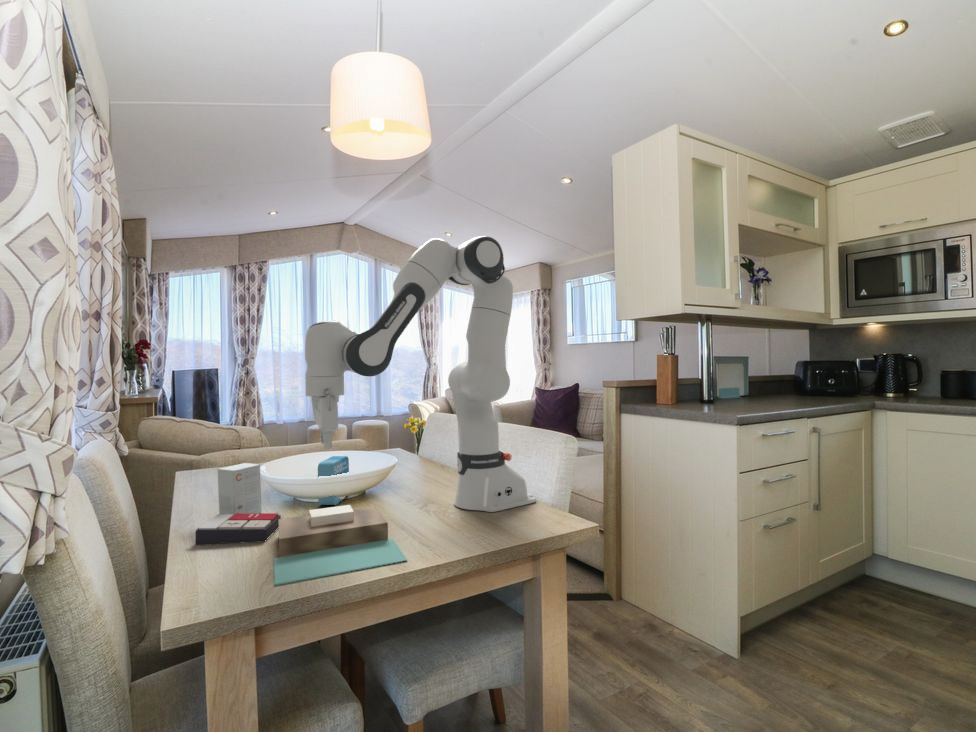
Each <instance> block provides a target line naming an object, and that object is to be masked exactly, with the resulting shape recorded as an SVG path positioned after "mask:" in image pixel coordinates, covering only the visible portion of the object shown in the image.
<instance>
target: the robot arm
mask: <svg viewBox="0 0 976 732" xmlns="http://www.w3.org/2000/svg"><path fill="white" fill-rule="evenodd" d="M504 263H505V262H504V252H503V250H502V246H501V245H500V243H499V242H498V241H497V240H496V239H495V238H493V237H491V236H486V235H481V236H475V237H473V238H471V239H469V240H466V241H464V242H463V243H461V244H460V245H458V246H457V247H455V246H452V245H451V244H450V243H449V242H448V241H446V240H445V239H442V238H439V237H438V238H437V237H435V238H431V239H429V240H427V241H426V242H425V243H423V245H421V246H420V247H419V248H418V249H417V250H416V251H415V252H413V254H412V255H411V256H410V257H409V258H408V260H407V261H405V263H404V265H402V267H401V268H400V270H399V272H398V273H397V275H396V277H395V279H394V281H393V283H392V288H393V297H392V300H391V302H390V303H389V304H388V306H387V307H386V308H385V310H384V311H383V313H382V314H381V315H380V316H379V318H378V319H377V320H376V322H375V323H374V324H373V326H371V328H369V329H367V330H365V331H362V332H357V331H355V330H352V329H351V328H349V327H347V326H345V325H344V324H342V323H341V322H340V321H339V320H326V321H325V320H324V321H319V322H316V323H313V324H312V325H310V326H309V327H308V328H307V331H306V335H305V341H304V343H305V344H304V359H305V363H306V371H305V396H306V397H311V400H310V401H311V404H312V412H313V419H314V423H315V424H316V425H317V426H318V429H319V436H320V437H319V440H320V442H319V443H320V444H321V445H323V449H325V450H329V449H330V450H331V449H332V448H333V437H334V432H336V431H337V432H338V430H339V411H338V409H339V407H338V403H340V396H344V395H345V372H348V371H349V372H351V373H354V374H358V375H360V376H361V377H375V376H379V375H380V374H382V373H383V372H384V371H386V370H387V368H388V367H389V365H390V364H391V361H392V357H393V352H394V348H395V346H396V343H397V342H398V340H399V339H400V337H401V335H403V332H404V331H405V330H406V328H407V327H408V325H409V324H410V322H411V321H412V320H413V318H414V317H415V315H416V314H418V313H419V311H421V310H422V309H423V308H424V307H425V306H426V305H427V304H428V303H430V301H431V300H432V299H433V298H434V297H435V296H437V294H438V292H439V291H440V290H441V289H442V287H443V286H444V284H445V283H446V281H447V280H449V281H451V282H453V283H455V284H456V285H459V286H469V285H471V286H472V289H473V301H472V305H471V308H470V309H471V311H470V316H469V319H468V325H467V329H466V335H465V337H466V339H465V340H466V341H467V350H468V354H467V355H468V356H467V361H464V362H461V363H459V364H458V365H456V366H454V367H453V368H452V370H451V371H450V372H449V374H448V381H447V384H448V387H449V389H450V391H451V394H452V400H453V405H454V410H455V414H456V420H457V421H456V422H457V431H458V432H457V433H458V434H457V435H458V436H457V437H458V452H457V455H456V456H457V457H456V458H457V459H456V467H457V473H458V477H457V486H456V487H457V488H456V493H455V498H454V502H453V505H454V506H455V507H457V508H460V509H463V510H469V511H483V512H489V513H495V512H500V511H505V510H509V509H512V508H516V507H517V508H518V507H521V506H525V505H530V504H533V503H535V502H536V497H535V495H534V494H533V493H531V492H529V491H528V488H527V483H526V481H525V478H524V477H523V476H522V475H521V474H520V473H518V472H517V471H515V470H514V469H513V468H511V467H510V466H508V464H506V461H507V462H510V461H511V460H512V459H513V456H512V454H511V453H508V452H503V451H501V450H500V445H499V443H500V441H499V423H498V419H497V418H496V415H495V413H494V410H493V406H492V403H494V402H496V401H499V400H501V399H502V398H504V397H505V396H506V395H507V394H508V391H509V390H510V385H511V379H510V375H509V372H508V371H507V367H506V366H507V365H506V364H507V363H506V344H507V337H508V331H509V326H510V320H511V315H512V308H513V296H514V289H513V288H514V286H513V283H512V280H510V278H508V277H507V276H505V275H504V273H505V270H506V267H505V264H504Z"/></svg>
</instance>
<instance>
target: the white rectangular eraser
mask: <svg viewBox="0 0 976 732" xmlns="http://www.w3.org/2000/svg"><path fill="white" fill-rule="evenodd" d="M353 509H354V508H352V506H351V504H344V505H338V506H337V505H336V506H330V507H324V508H316V509H309V511H308V512H309V514H308V515H309V516H310V523H311V527H313V526H320V525H327V524H333V523H340V522H347V521H354V511H353Z"/></svg>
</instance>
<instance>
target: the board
mask: <svg viewBox="0 0 976 732" xmlns="http://www.w3.org/2000/svg"><path fill="white" fill-rule="evenodd" d="M352 509H353V511H354V521H347V522H340V523H333V524H327V525H320V526H313V527H311V523H310V516H309V514H306V515H301V516H294V517H287V518H281V519H278V520H279V528H278V547H279V550H278V551H279V557H284V556H290V555H296V554H302V553H308V552H314V551H321V550H327V549H333V548H339V547H345V546H351V545H357V544H363V543H369V542H375V541H381V540H387V539H389V525H388V524H389V523H388V520H387V519H386V518H385V517H384V515H383V514H382V513H381V512H380V510H379V508H378V507H377V506H376V505H375V506H373V505H372V506H367V507H366V506H365V507H360V508H352Z"/></svg>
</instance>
